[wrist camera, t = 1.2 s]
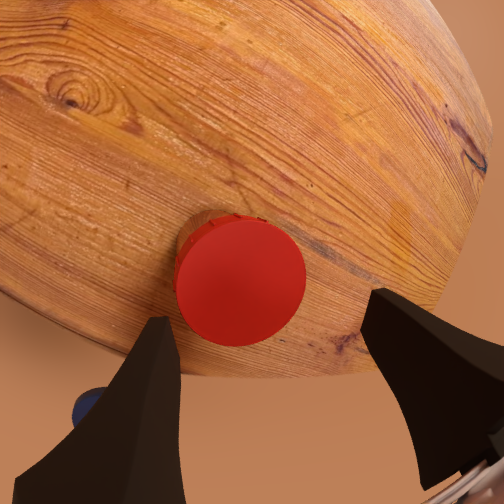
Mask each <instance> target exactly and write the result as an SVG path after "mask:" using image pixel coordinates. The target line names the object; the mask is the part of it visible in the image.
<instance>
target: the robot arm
mask: <svg viewBox="0 0 504 504" xmlns="http://www.w3.org/2000/svg"><path fill="white" fill-rule="evenodd" d="M360 331H361V334H362V336H363V338H364V341H365V343H366V346H367V348H368V350H369V352H370V354H371V356H372V358H373V359H374V361H375V363H376V364H377V366H378V368H379V369H380V371H381V373H382V375H383V376H384V378H385V380H386V381H387V383H388V385H389V386H390V388H391V390H392V392H393V393H394V395H395V397H396V399H397V401H398V403H399V405H400V408H401V410H402V413H403V415H404V418H405V420H406V423H407V426H408V429H409V432H410V435H411V438H412V442H413V445H414V449H415V453H416V457H417V462H418V468H419V475H420V483H421V486H422V487H423V490H424V491H426V490H428V489H430V488H431V487H433V486H435V485H437V484H438V483H440V482H442V481H443V480H445V479H447V478H449V477H450V476H452V475H453V474H455V473H456V472H458V471H460V473H461V475H462V476H461V477H460V478H459V479H457V480H456V481H455V482H453V483H452V484H450V485H449V486H448V487H447V488H445V489H443V490H442V491H441V492H439V493H437V494H436V495H435V496H433V497H431V498H430V499H428V500H427V501H425V502H423V503H421V504H452V503H453V502H454V501H456V500H457V499H458V500H457V502H456V503H454V504H504V346H501V345H498V344H495V343H492V342H489V341H486V340H483V339H481V338H478V337H476V336H474V335H472V334H469V333H467V332H465V331H462V330H460V329H459V328H457V327H455V326H453V325H451V324H449V323H447V322H445V321H443V320H441V319H440V318H438V317H436V316H435V315H433V314H431V313H429V312H428V311H426V310H424V309H423V308H421V307H419V306H417V305H416V304H414V303H412V302H411V301H409V300H407V299H405V298H404V297H402V296H400V295H398V294H397V293H395V292H393V291H391V290H389V289H387V288H380V289H375V290H372V291H371V295H370V299H369V302H368V306H367V309H366V313H365V316H364V320H363V323H362V326H361V329H360ZM180 391H181V373H180V357H179V353H178V350H177V347H176V343H175V339H174V336H173V332H172V328H171V325H170V321H169V317H168V316H163V317H150V318H149V320H148V321H147V323H146V325H145V327H144V328H143V330H142V332H141V334H140V335H139V337H138V339H137V341H136V342H135V344H134V346H133V348H132V349H131V351H130V353H129V354H128V356H127V357H126V359H125V361H124V363H123V364H122V366H121V367H120V369H119V370H118V372H117V373H116V375H115V376H114V378H113V379H112V381H111V382H110V384H109V385H108V387H107V388H106V390H105V391H104V392H103V394H102V395H101V396H100V398H99V399H98V400H97V402H96V403H95V404H94V406H93V407H92V408H91V409H90V411H89V412H88V413H87V414H86V415H85V417H84V418H83V419H82V420H81V421H80V422H79V423H78V425H77V426H76V427H75V428H74V429H73V430H72V431H71V432H70V433H69V435H67V436H66V438H64V440H62V441H61V442H60V443H59V444H58V445H57V446H56V447H55V448H54V449H53V450H52V451H50V452H49V453H48V454H47V455H46V456H45V457H44V458H43V459H41V460H40V461H39V462H37V463H36V464H35V465H33V466H32V467H31V468H29V469H28V470H27V471H25V472H24V473H23V474H21V475H20V476H18V477H17V478H15V484H14V491H13V500H12V504H186V501H185V495H184V489H183V482H182V475H181V468H180V457H179V443H178V442H179V441H178V440H179V439H178V438H179V411H180Z"/></svg>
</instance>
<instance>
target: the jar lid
mask: <svg viewBox="0 0 504 504" xmlns="http://www.w3.org/2000/svg"><path fill="white" fill-rule="evenodd" d="M268 222H269V221H266V220H264V219H261V218H259V217H257V219H256V218H254V217H250V216H245V215H238V214H236V213H233V215H228V216H222V217H219V218H216V219H213V220H212V219H209V222H207V223H205V224H204V225H202V226H200V227H199V228H198V229H197V230H195V231H194V232H193V233H192V234H191V235H190V234H189V235H188V237H189V238H188V239H187V240H186V241H185V243H184V244H183V246H182V248H181V250H180V252H179V254H178V256H176V257H175V259H176V263H175V268H174V280H173V290H174V292H176V299H177V303H178V307H179V310H180V312H181V315H182V316H183V318H184V320H185V321H186V323H187V324H188V325H189V327H190V328H191V329H192V330H193V331H194V332H196V333H197V334H198V335H199V336H201V337H202V338H204V339H206V340H208V341H210V342H213V343H216V344H219V345H224V346H233V347H235V346H246V345H251V344H255V343H258V342H260V341H263V340H265V339H267V338H269V337H271V336H272V335H274V334H275V333H277V332H278V331H279V330H280V329H282V328H283V327H284V326H285V325H286V324H287V323H288V322H289V321H290V319H291V318H292V317H293V315H294V314H295V312H296V311H297V309H298V307H299V305H300V303H301V301H302V298H303V295H304V291H305V286H306V269H305V263H304V260H303V257H302V254H301V252H300V250H299V248H298V246H297V245H296V244H295V242H294V241H293V240H292V239H291V238H290V237H289V235H288V234H286V233H285V232H284V231H282V230H281V229H279V228H277V227H276V226H274V225H271V224H269V223H268Z"/></svg>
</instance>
